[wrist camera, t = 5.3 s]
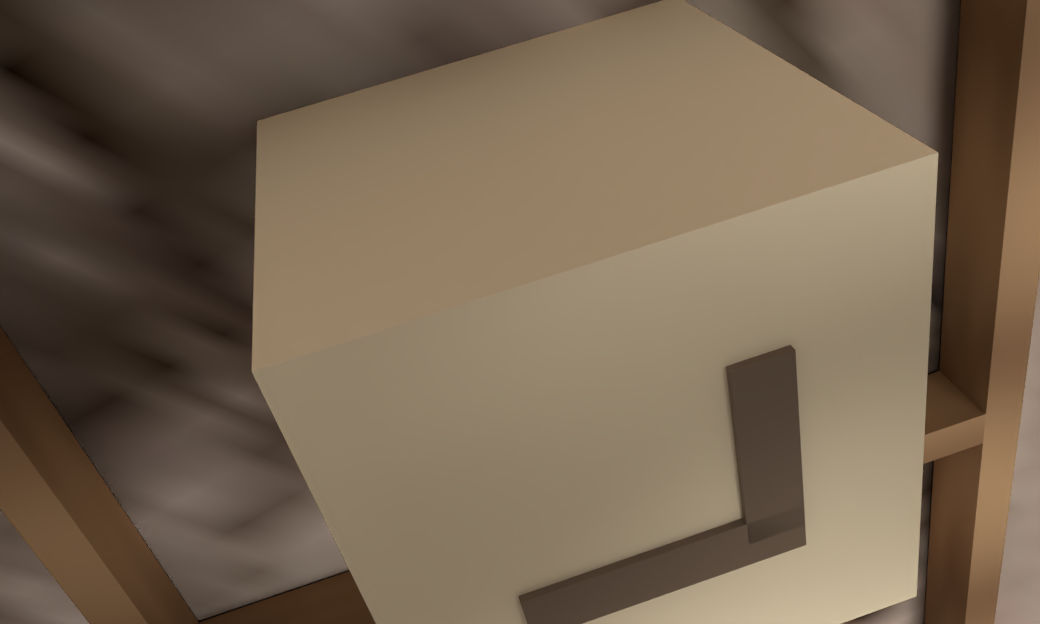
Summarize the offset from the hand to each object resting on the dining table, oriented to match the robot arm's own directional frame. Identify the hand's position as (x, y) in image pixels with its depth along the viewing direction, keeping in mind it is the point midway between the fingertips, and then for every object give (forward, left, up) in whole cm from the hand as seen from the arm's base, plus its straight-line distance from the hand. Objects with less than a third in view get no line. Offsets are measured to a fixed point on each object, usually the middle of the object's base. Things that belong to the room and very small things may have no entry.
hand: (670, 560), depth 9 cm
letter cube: (0, 0, -7) cm, 7 cm away
